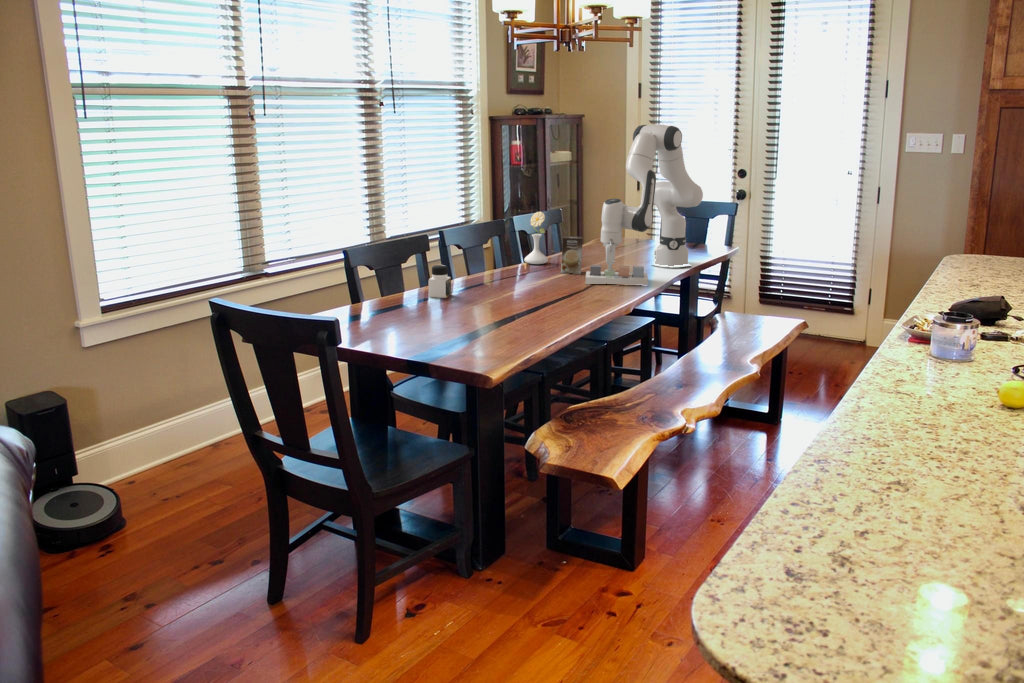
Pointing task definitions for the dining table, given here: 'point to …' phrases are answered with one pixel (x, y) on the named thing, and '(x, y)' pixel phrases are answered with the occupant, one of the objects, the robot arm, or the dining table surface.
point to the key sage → (609, 273)
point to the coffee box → (571, 254)
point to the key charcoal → (595, 270)
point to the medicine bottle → (439, 282)
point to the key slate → (638, 271)
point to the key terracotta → (623, 271)
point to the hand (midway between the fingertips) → (609, 270)
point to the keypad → (616, 279)
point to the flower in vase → (536, 241)
